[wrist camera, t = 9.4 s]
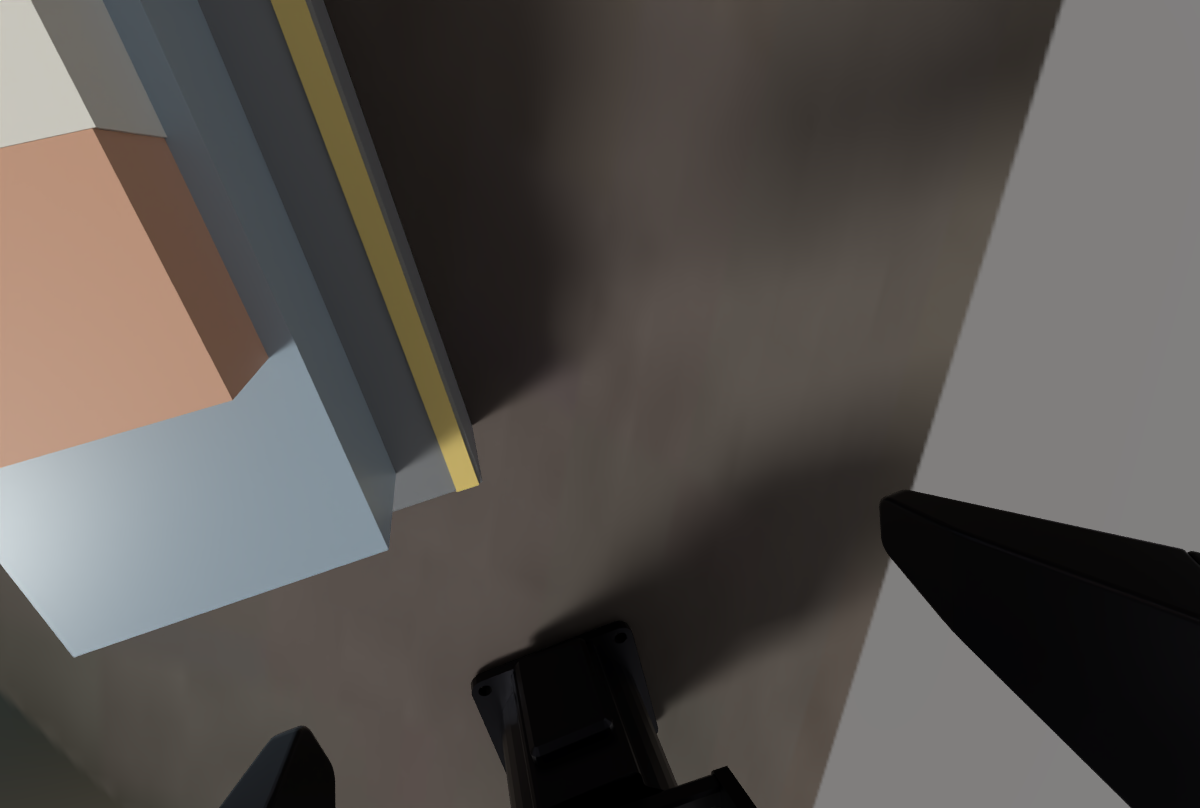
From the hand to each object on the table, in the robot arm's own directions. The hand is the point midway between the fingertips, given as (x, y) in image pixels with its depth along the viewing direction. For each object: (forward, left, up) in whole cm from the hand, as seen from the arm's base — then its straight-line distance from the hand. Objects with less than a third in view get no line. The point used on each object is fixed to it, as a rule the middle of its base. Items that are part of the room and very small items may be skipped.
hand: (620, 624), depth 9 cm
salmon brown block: (+6, +7, -4) cm, 10 cm away
